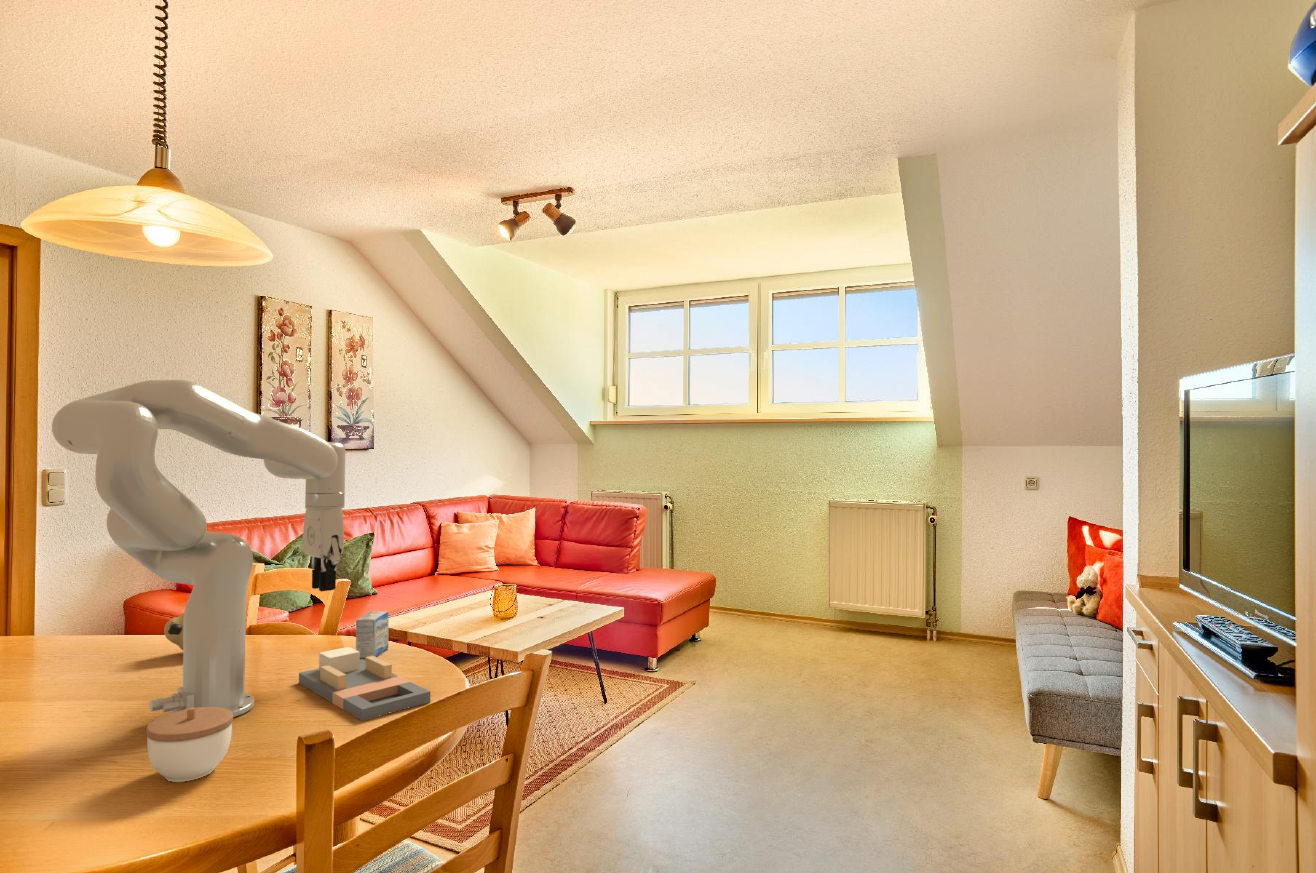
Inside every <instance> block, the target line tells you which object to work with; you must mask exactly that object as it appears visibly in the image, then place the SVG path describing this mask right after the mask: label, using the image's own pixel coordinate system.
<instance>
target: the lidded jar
mask: <svg viewBox="0 0 1316 873" xmlns="http://www.w3.org/2000/svg"><path fill="white" fill-rule="evenodd" d="M233 720H234V717H233V713H232V712H231V711H230V710H228V709H225V708H220V707H199V708H194V707H192V708H188V709H185V710H180V711H176V712H173V713H172V712H170V713H167V714H164V715H162V716H159V717H157V718H155V719H153V720H152V721H150V723H148V725H147V726H146V730H145V731H146V732H145V733H146V737H147V738H146V743H147V744H146V748H147V755H148V757H149V758H148V759H149V761H150V764H151V766H152V768H153V769H154V771H155V772H157V773H158V774H159V775H161V776H162V777H164V778H165V780H166V779H167V780H168V782H170V781H172V782H171V783H184V782H185V781H187V782H190V781H189V780H192V781H194V780H193V779H196V780H199V779H198V778H200V779H202V778H204V777H203V776H205V777H207V776H208V775H207V774H209V775H210V774H212V773H213V772H214V771H213V770H215V767H217V766H218V765H219V764H220V763H221V762H222V760H223V759H224V758H225V756H226V755H227V752H228V751H229V747H230V744H231V739H232V735H233V734H232V732H233V722H234V721H233ZM212 771H213V772H212ZM211 772H212V773H211ZM206 775H207V776H206ZM201 777H202V778H201ZM167 780H166V781H167ZM185 783H186V782H185Z"/></svg>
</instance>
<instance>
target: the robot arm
mask: <svg viewBox="0 0 1316 873" xmlns="http://www.w3.org/2000/svg"><path fill="white" fill-rule="evenodd" d="M159 430H172V431H176V432H179V433H181V434H183V435H186V436H188V437H191V438H192V439H195V440H197V441H200V442H202V443H204V444H205V445H208V446H211V447H213V448H215V449H218V450H220V451H221V452H224V453H226V454H227V453H228V454H230V455H234V456H238V457H242V458H248V459H249V458H250V459H251V458H252V459H258V460H259V459H260V460H263V464H264V467H265V469H266V470H267V471H268V472H269V473H270V474H271V475H273V476H275V477H278V478H282V479H292V480H293V479H295V480H296V479H300V480H305V496H304V498H305V499H304V500H305V501H304V503H305V504H304V505H305V506H304V509H305V513H304V520H303V530H302V532H303V533H302V547H301V548H302V552H303V554H306V555H308V556H310V560H311V588H312V589H314V590H316V589H318V591H320V592H327V591H334V590H336V582H337V580H336V579H337V578H336V577H337V574H336V573H337V569H338V563H340V562H341V560H342V559H341V555H342V554H343V553H344V549H345V548H344V547H345V546H344V545H345V543H344V542H345V531H344V529H345V528H344V527H345V526H344V515H343V513H344V512H343V509H344V508H345V496H346V494H345V493H346V491H345V490H346V487H345V486H346V485H345V484H346V483H345V482H346V447H345V445H344V444H343V443H341V442H335V441H326V440H325V439H322V438H321V437H319V436H317V435H315V434H314V433H311V432H309V431H307V430H306V429H303V428H301V427H298V426H295V425H292V424H289V423H286V422H283V421H279V420H277V419H274V418H271V417H268V416H266V415H263V414H259V413H256V412H253V411H252V410H249V409H247V408H245V407H243V406H241V405H239V404H237V403H235V402H233V401H231V400H230V399H228V398H225V397H223V396H222V395H220V394H217V393H216V392H214V391H212V390H210V389H208V388H206V387H205V386H202V385H200V384H198V383H196V382H193V381H191V380H185V379H159V380H158V379H155V380H152V379H151V380H145V381H141V382H140V381H139V382H137V383H136V382H135V383H132V384H128V385H125V386H122V387H119V388H115V389H112V390H108V391H105V392H102V393H98V394H94V395H90V396H87V397H84V398H80V399H77V400H74V401H71V402H69V403H67V404H65V405H64V406H63V407H62V408H60V409H59V410H58V411H57V413H56V414H55V416H54V417H53V418H52V422H51V432H52V435H53V438H54V439H55V441H56V442H57V443H58V444H59V445H60V446H61V447H63V448H64V449H66V450H67V451H70V452H73V453H77V454H85V455H97V456H96V461H95V476H94V477H95V487H96V491H97V493H98V495H99V497H100V498H101V499H102V501H103V502H104V503H105V504H106V505H107V506H108V507H109V510H108V513H107V515H106V528H107V532H108V534H109V537H110V538H111V539H112V541H113V542H114V544H116V545H117V546H118V547H119V548H120V549H121V550H123V551H124V552H125V553H126V554H128V555H129V556H131V558H133V559H134V560H136V561H137V562H138V563H139V564H140V565H142V566H143V567H145V568H146V569H147V570H149V571H150V572H151V573H153V574H154V575H156V576H157V577H158V578H161V579H162V580H164V581H167V582H171V583H174V584H175V583H176V584H184V585H191V586H192V587H193V588H192V590H191V593H190V595H189V597H188V599H187V601H186V603H185V607H184V611H183V613H184V621H183V627H184V632H183V650H182V654H183V655H182V686H181V687H177V688H176V693H171V695H170V696H168V697H164V698H163V697H160V698H155V699H150V700H149V711H150V712H151V713H152V712H157V711H161V710H162V713H166V712H167V713H168V712H171V713H173V712H176V711H180V710H185V709H188V708H192V707H194V708H199V707H220V708H225V709H228V710H230V711H231V712H232V713H233V718H235V717H238V716H241V715H244V714H245V713H247V712H248V711H250V710H252V708H253V707H254V705H255V698H254V696H252V695H251V694H249V693H245V692H246V691H245V689H246V688H245V686H246V684H245V682H246V629H247V628H246V627H247V626H246V623H247V622H246V621H247V620H246V619H247V618H246V617H247V616H246V615H247V614H246V613H247V595H248V588H249V582H250V578H251V574H252V569H253V566H254V565H253V562H254V555H253V551H252V547H251V546H250V544H248V542H247V541H245V540H244V539H243V538H242V537H240V536H237V535H234V534H232V533H227V532H217V531H208V530H207V528H208V524H207V519H206V516H205V514H204V512H203V511H202V510H201V508H200V507H198V505H196V504H195V503H194V502H193V501H192V500H191V499H190V498H189V497H187V496H186V494H184V493H183V492H182V491H180V489H178V488H177V487H176V486H175V485H174V484H173V483H172V482H171V481H170V480H169V479H167V478H166V476H165V475H164V474H163V473H162V472H161V471H160V469H159V468H158V466H157V464H156V456H155V452H156V446H157V445H156V444H157V440H158V432H159ZM328 554H330V555H328Z"/></svg>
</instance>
